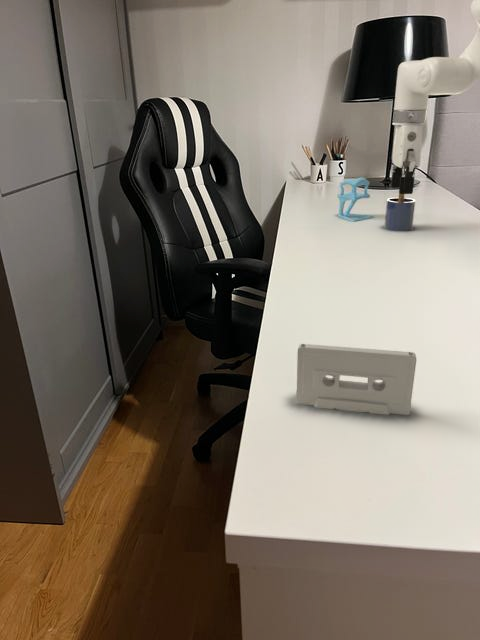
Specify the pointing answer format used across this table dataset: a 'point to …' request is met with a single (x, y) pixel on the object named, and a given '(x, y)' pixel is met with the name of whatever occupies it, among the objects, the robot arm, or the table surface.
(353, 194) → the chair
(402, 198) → the brush
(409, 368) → the cassette
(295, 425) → the table surface
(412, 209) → the pencil cup
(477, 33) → the robot arm
